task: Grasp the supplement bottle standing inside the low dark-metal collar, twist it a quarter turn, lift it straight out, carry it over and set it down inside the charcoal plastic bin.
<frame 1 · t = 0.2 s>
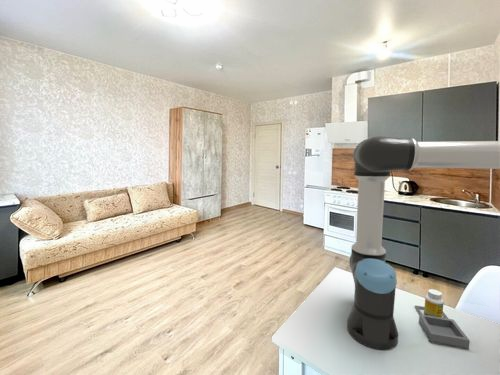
supplement bottle: (432, 317, 90), resting in socket collar
socket collar: (432, 316, 90), on the table
bin: (441, 334, 81), on the table
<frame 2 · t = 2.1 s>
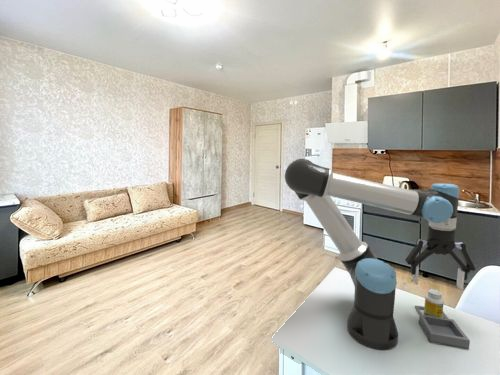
hand: (436, 285, 88), 12 cm above the table, fingers open, 13 cm apart
nothing on the table moved.
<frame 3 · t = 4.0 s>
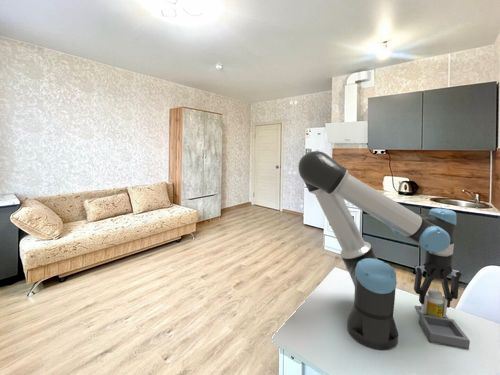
hand: (433, 313, 90), 1 cm above the table, fingers closed on supplement bottle, 5 cm apart
supplement bottle: (432, 316, 90), resting in socket collar, touching gripper
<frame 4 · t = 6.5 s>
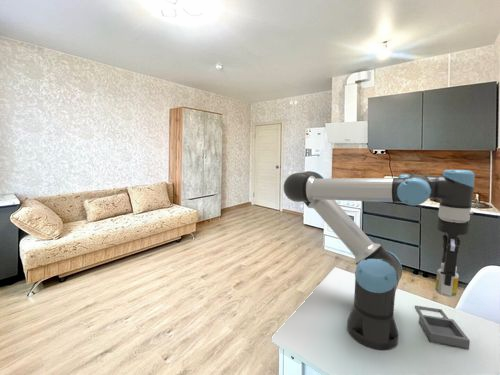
hand: (445, 289, 79), 16 cm above the table, fingers closed on supplement bottle, 5 cm apart
supplement bottle: (445, 293, 79), point 14 cm above the table, touching gripper
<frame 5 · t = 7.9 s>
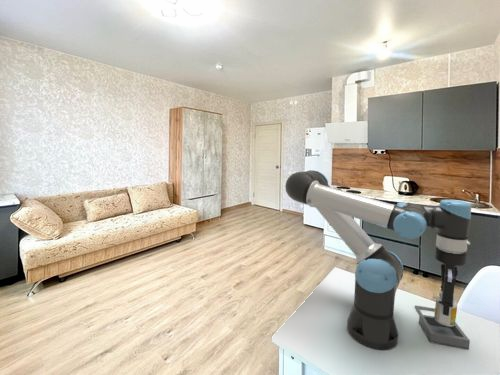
hand: (444, 317, 80), 6 cm above the table, fingers closed on supplement bottle, 5 cm apart
supplement bottle: (444, 322, 80), point 5 cm above the table, touching gripper
when the fingers open (5 cm above the table, at t = 8.8 s): supplement bottle drops 3 cm, resting on bin.
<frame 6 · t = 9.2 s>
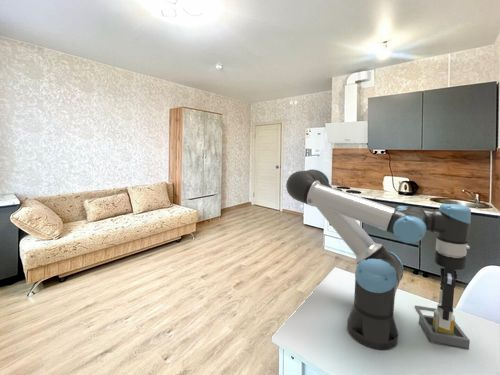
hand: (443, 318, 80), 6 cm above the table, fingers open, 10 cm apart
supplement bottle: (442, 334, 80), resting on bin
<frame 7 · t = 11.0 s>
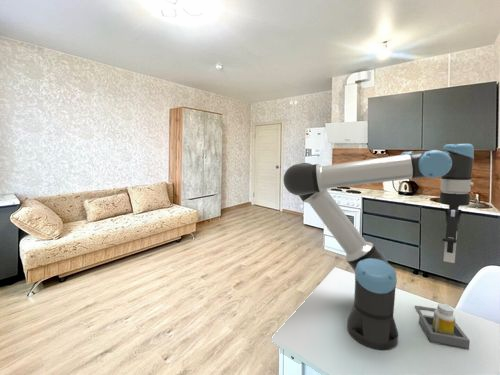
hand: (449, 255, 82), 26 cm above the table, fingers open, 13 cm apart
nothing on the table moved.
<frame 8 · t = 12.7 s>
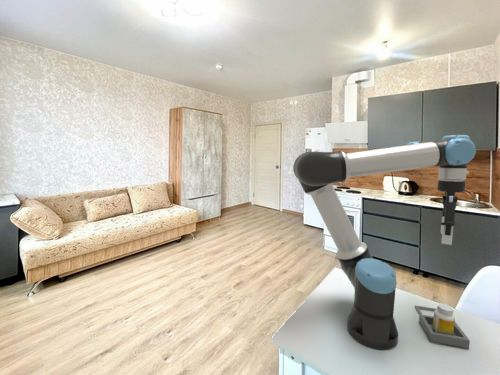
hand: (445, 238, 89), 29 cm above the table, fingers open, 13 cm apart
nothing on the table moved.
at the end: supplement bottle inside the target area on the bin (0.3 cm from its centre), point 0.3 cm above the bin's base; the gripper is holding nothing; supplement bottle moved 10.3 cm from its start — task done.
